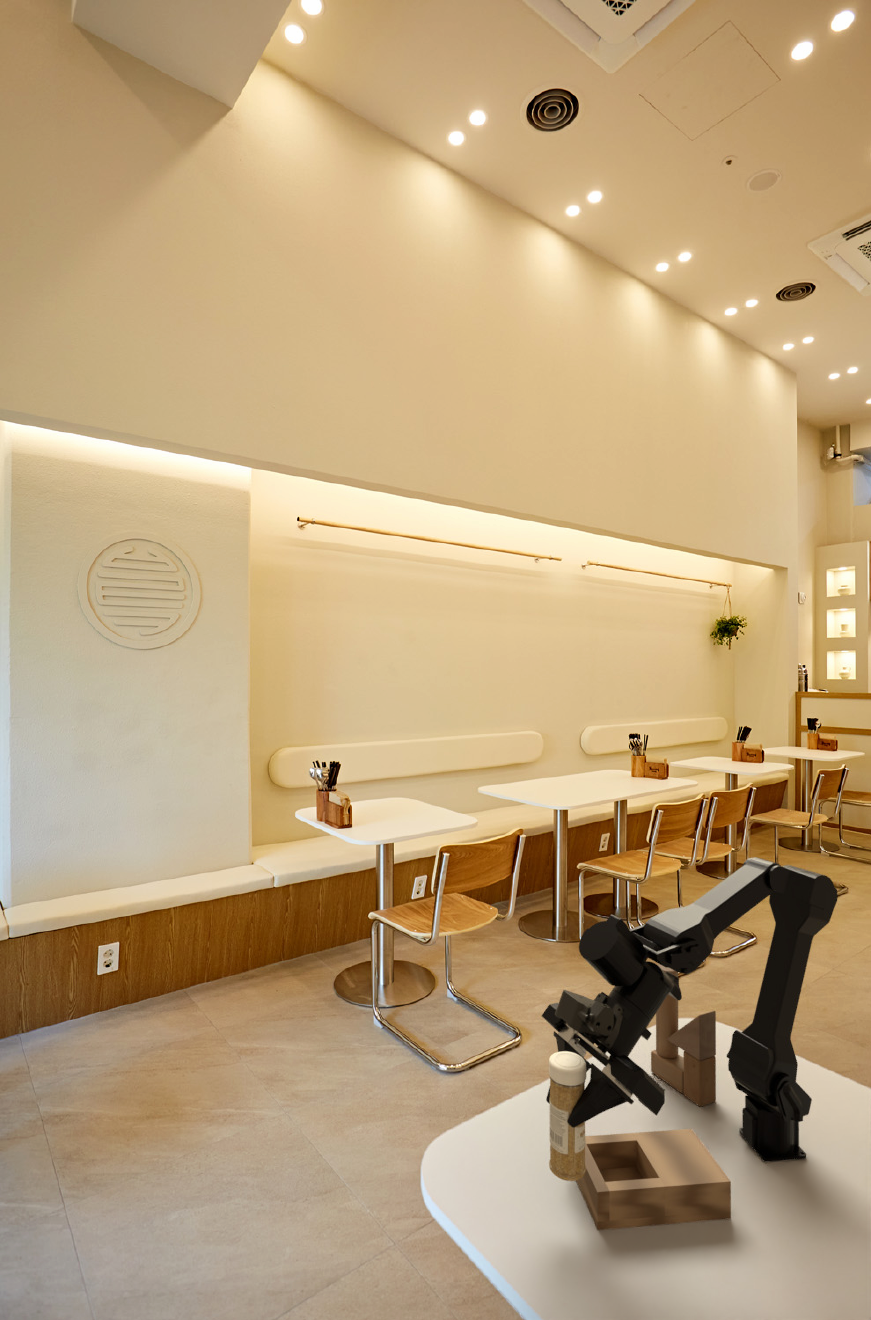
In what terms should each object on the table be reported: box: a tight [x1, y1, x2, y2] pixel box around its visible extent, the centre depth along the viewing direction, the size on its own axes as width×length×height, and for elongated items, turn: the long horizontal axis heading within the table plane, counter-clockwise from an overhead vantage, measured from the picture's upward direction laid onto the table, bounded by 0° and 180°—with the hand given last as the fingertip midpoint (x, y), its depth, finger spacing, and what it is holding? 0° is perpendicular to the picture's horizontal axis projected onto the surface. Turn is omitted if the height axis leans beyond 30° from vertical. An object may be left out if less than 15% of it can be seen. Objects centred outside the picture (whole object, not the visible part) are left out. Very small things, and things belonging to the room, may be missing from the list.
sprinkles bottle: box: [548, 1051, 587, 1182], centre depth 85 cm, size 5×5×14 cm
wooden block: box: [650, 963, 717, 1108], centre depth 113 cm, size 4×11×18 cm, turn 26°
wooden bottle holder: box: [575, 1128, 732, 1231], centre depth 89 cm, size 17×10×4 cm, turn 96°
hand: (559, 1114), depth 85 cm, fingers closed on sprinkles bottle, 4 cm apart
